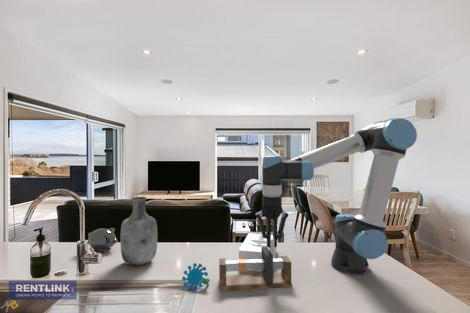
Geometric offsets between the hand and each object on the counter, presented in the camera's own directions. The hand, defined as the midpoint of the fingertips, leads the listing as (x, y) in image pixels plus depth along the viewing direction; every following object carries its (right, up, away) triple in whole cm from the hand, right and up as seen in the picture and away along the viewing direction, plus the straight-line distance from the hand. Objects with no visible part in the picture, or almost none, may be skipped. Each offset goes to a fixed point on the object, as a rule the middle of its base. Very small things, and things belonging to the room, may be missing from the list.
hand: (271, 255), depth 104 cm
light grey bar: (-7, -5, -1) cm, 9 cm away
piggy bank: (-83, -11, +34) cm, 90 cm away
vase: (-59, -11, +19) cm, 63 cm away
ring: (-2, -8, 0) cm, 9 cm away
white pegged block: (-3, -11, +22) cm, 25 cm away
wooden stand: (-7, -11, 0) cm, 12 cm away
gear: (-29, -11, -3) cm, 31 cm away
